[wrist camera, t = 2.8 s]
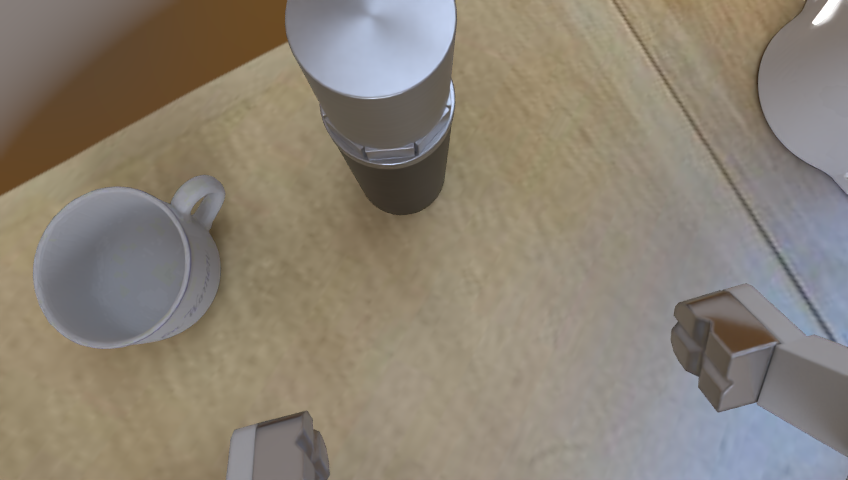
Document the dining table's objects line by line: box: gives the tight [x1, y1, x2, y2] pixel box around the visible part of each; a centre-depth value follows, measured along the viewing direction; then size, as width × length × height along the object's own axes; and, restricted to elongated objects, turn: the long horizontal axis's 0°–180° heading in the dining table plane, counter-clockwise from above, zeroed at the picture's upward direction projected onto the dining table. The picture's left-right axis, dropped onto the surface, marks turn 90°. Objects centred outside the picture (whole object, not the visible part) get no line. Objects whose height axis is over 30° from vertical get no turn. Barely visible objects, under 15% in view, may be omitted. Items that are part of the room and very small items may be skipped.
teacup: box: [33, 175, 225, 349], centre depth 39 cm, size 14×11×8 cm
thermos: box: [320, 78, 455, 215], centre depth 35 cm, size 7×7×17 cm
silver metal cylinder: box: [285, 0, 457, 160], centre depth 24 cm, size 6×6×8 cm
